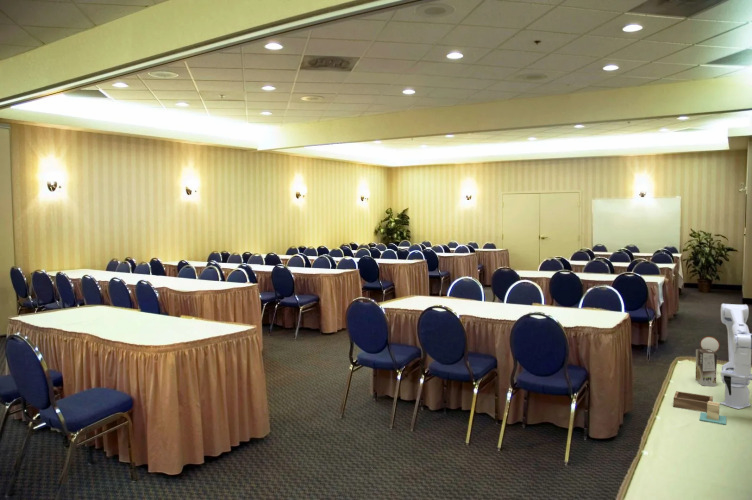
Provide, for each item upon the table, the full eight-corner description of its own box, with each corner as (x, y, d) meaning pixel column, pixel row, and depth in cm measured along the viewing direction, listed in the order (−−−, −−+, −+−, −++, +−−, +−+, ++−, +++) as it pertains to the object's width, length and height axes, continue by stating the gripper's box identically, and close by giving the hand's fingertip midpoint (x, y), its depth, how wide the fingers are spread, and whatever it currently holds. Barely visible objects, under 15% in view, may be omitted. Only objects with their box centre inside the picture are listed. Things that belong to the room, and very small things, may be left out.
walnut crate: (675, 399, 244) (676, 391, 244) (712, 405, 236) (712, 396, 236) (673, 406, 236) (673, 397, 236) (711, 413, 228) (711, 403, 228)
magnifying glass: (719, 375, 276) (720, 337, 274) (718, 376, 275) (719, 337, 273) (699, 373, 281) (700, 335, 280) (699, 373, 280) (700, 335, 278)
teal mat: (700, 413, 228) (700, 412, 228) (726, 417, 223) (726, 416, 223) (699, 420, 220) (699, 419, 220) (725, 425, 215) (725, 423, 215)
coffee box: (716, 386, 260) (717, 353, 259) (701, 385, 262) (702, 353, 260) (709, 380, 269) (709, 348, 268) (694, 380, 270) (695, 348, 269)
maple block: (707, 415, 224) (708, 401, 224) (719, 417, 222) (719, 402, 222) (706, 418, 221) (707, 404, 221) (718, 420, 219) (718, 405, 218)
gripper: (720, 363, 220) (719, 396, 221) (764, 368, 212) (763, 402, 213) (721, 359, 226) (720, 390, 227) (764, 364, 218) (763, 397, 219)
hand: (741, 396), depth 221 cm, fingers open, 7 cm apart
